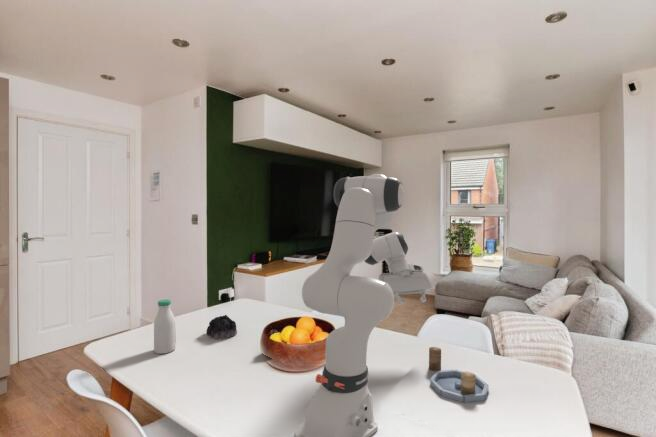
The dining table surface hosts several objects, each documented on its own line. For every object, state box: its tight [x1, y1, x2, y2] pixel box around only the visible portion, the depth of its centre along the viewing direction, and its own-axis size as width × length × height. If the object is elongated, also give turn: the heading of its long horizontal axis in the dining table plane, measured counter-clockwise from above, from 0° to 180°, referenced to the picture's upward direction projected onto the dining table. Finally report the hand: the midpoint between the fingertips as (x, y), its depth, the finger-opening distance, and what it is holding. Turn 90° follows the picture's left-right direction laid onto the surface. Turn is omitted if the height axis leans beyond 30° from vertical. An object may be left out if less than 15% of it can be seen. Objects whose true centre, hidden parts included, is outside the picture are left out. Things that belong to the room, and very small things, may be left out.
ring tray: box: [429, 369, 489, 403], centre depth 107 cm, size 16×16×3 cm
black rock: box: [206, 314, 238, 340], centre depth 154 cm, size 13×14×10 cm
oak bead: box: [461, 371, 477, 395], centre depth 103 cm, size 4×4×6 cm
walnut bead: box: [428, 346, 442, 372], centre depth 120 cm, size 4×4×8 cm
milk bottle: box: [153, 299, 177, 355], centre depth 136 cm, size 8×8×20 cm
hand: (413, 302), depth 131 cm, fingers open, 8 cm apart
